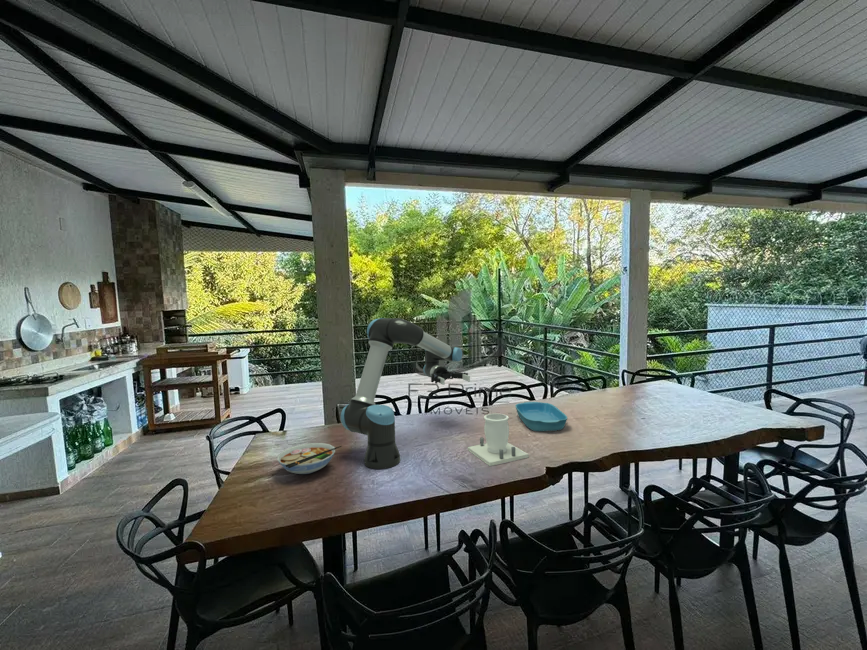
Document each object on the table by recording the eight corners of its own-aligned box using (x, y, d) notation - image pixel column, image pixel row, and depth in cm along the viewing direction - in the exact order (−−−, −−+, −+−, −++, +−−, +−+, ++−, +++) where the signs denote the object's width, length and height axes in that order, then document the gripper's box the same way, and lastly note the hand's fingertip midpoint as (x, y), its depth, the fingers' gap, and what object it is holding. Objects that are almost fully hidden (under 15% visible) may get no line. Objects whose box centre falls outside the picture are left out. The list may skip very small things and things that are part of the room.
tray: (489, 466, 156) (489, 454, 156) (467, 450, 173) (467, 439, 173) (528, 457, 163) (528, 446, 163) (503, 442, 181) (503, 432, 180)
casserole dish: (574, 433, 190) (573, 419, 190) (529, 435, 190) (529, 421, 189) (549, 412, 227) (548, 400, 227) (511, 414, 226) (511, 402, 226)
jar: (483, 454, 164) (482, 420, 163) (485, 445, 175) (484, 412, 174) (509, 455, 162) (508, 420, 161) (509, 446, 172) (508, 413, 171)
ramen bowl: (317, 454, 175) (316, 436, 175) (349, 466, 161) (348, 447, 160) (264, 474, 156) (263, 454, 155) (295, 490, 141) (293, 468, 141)
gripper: (460, 378, 210) (479, 385, 190) (417, 382, 201) (433, 390, 181) (460, 364, 210) (479, 370, 190) (417, 368, 200) (432, 375, 181)
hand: (456, 380), depth 186 cm, fingers open, 13 cm apart
